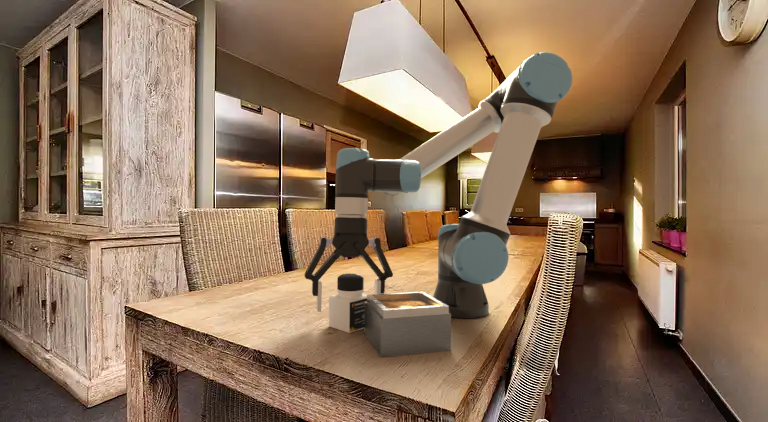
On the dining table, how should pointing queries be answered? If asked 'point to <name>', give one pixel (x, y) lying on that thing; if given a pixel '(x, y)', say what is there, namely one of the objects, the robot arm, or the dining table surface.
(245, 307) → the dining table surface
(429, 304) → the grey box
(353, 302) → the medicine bottle
